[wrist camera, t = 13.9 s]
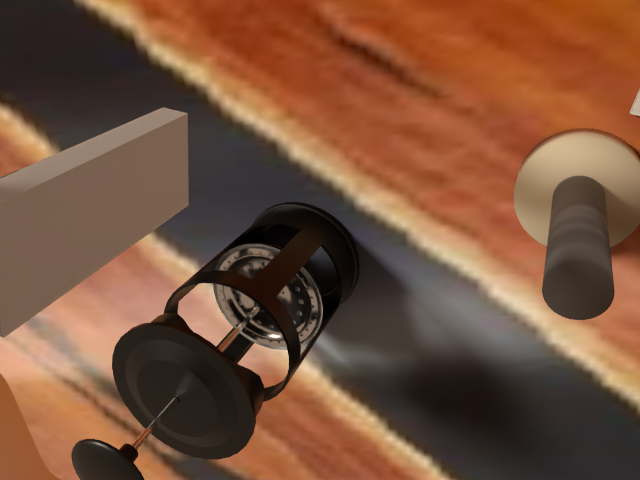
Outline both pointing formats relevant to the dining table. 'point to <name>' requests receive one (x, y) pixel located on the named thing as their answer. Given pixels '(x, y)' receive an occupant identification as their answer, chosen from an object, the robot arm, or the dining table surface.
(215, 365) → the french press
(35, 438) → the dining table surface
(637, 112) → the felt mat
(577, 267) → the peg stand
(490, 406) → the dining table surface
